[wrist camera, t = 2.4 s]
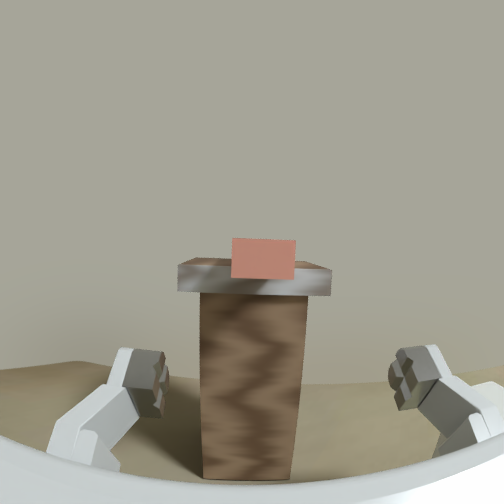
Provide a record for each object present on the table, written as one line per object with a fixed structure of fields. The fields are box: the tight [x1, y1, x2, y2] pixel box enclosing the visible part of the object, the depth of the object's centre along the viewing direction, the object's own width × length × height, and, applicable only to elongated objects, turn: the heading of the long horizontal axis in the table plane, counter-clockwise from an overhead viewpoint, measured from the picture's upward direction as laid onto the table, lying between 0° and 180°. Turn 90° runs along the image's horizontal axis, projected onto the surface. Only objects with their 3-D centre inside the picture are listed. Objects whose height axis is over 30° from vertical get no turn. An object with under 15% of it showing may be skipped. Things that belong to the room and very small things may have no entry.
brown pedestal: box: [178, 258, 332, 480], centre depth 36 cm, size 14×13×25 cm
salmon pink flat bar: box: [231, 238, 296, 280], centre depth 31 cm, size 4×22×2 cm, turn 2°
